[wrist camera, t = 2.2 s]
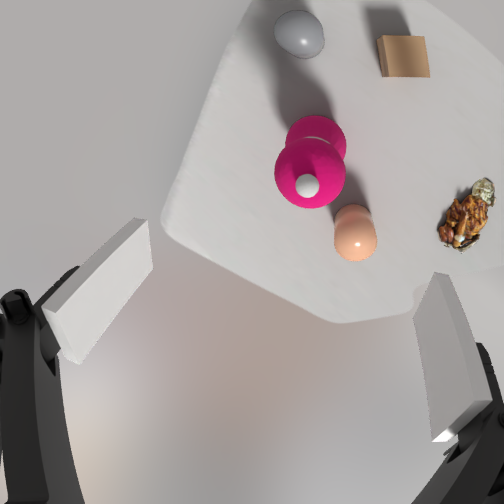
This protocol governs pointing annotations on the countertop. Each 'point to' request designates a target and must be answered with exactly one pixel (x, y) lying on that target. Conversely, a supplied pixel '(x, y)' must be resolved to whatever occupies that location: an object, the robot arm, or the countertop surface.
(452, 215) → the brown lumpy mound
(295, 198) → the pepper mill
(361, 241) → the peach rounded cylinder
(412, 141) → the countertop surface
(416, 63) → the tan block
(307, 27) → the grey cylinder
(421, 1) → the countertop surface
